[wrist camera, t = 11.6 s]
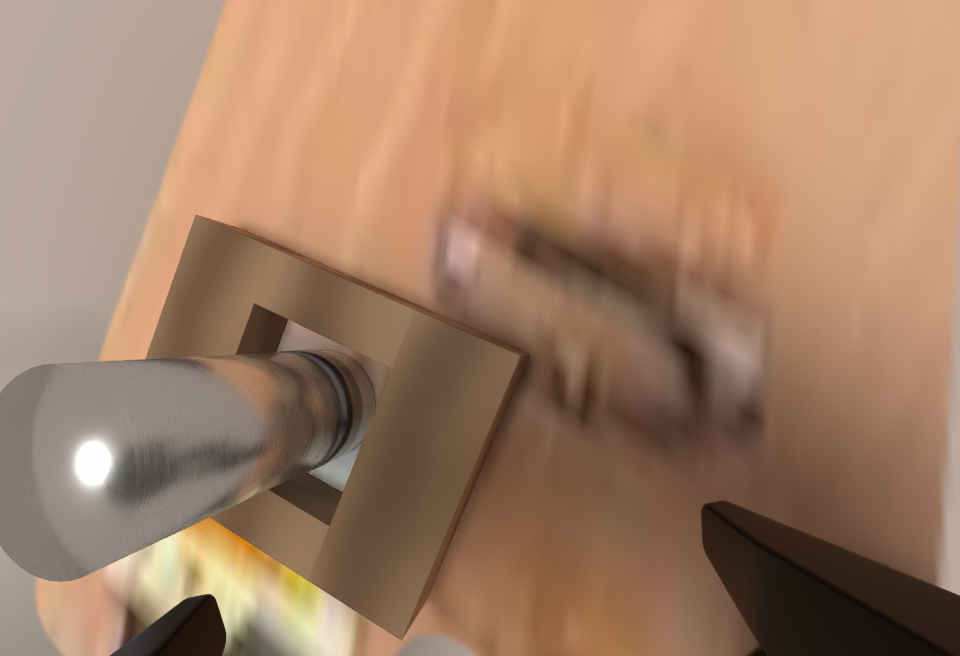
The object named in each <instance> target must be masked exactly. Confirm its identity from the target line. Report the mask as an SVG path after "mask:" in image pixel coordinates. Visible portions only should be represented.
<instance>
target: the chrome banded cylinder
mask: <svg viewBox="0 0 960 656" xmlns="http://www.w3.org/2000/svg"><path fill="white" fill-rule="evenodd" d="M374 412H375V398H374V392H373V388H372V385H371V382H370V380H369V378H368V376H367V375H366V373H365V371H364V370H363V369H362V367H361V366H360V365H359V364H358V363H357V362H356V361H354V360H353V359H352V358H350V357H349V356H347V355H345V354H342V353H340V352H336V351H327V350H326V351H317V350H303V351H284V352H277V353H265V354H245V355H225V356H205V357H184V358H164V359H144V360H124V361H104V362H83V363H63V364H47V365H41V366H37V367H34V368H31V369H29V370H27V371H25V372H23V373H21V374H20V375H19V376H17V377H15V378H14V379H13V380H12V381H11V382H10V383H9V384H8V385H7V386H6V387H5V388H4V389H3V390H2V392H1V393H0V545H1V547H2V548H3V550H4V551H5V552H6V553H7V555H8V556H9V557H10V558H11V559H12V560H13V561H14V562H15V563H16V564H18V565H19V566H20V567H21V568H23V569H24V570H26V571H27V572H29V573H30V574H32V575H34V576H37V577H39V578H42V579H46V580H50V581H60V582H62V581H72V580H75V579H78V578H82V577H84V576H86V575H88V574H90V573H92V572H94V571H97V570H99V569H101V568H103V567H105V566H107V565H109V564H111V563H114V562H116V561H118V560H120V559H122V558H124V557H126V556H128V555H130V554H133V553H135V552H137V551H139V550H141V549H143V548H145V547H147V546H150V545H152V544H154V543H156V542H158V541H160V540H162V539H164V538H167V537H169V536H171V535H173V534H175V533H177V532H179V531H181V530H183V529H186V528H188V527H190V526H192V525H194V524H196V523H198V522H200V521H203V520H205V519H207V518H209V517H211V516H213V515H215V514H217V513H220V512H222V511H224V510H226V509H228V508H230V507H232V506H234V505H236V504H239V503H241V502H243V501H245V500H247V499H249V498H251V497H253V496H256V495H258V494H260V493H262V492H264V491H266V490H268V489H270V488H273V487H275V486H277V485H279V484H281V483H283V482H285V481H287V480H289V479H292V478H294V477H296V476H298V475H300V474H304V473H307V472H309V471H311V470H314V469H316V468H318V467H320V466H322V465H324V464H326V463H328V462H330V461H332V460H334V459H336V458H338V457H339V456H341V455H343V454H345V453H347V452H349V451H351V450H352V449H354V448H355V447H356V446H357V445H358V444H360V443H361V441H362V440H363V439H364V438H365V435H366V433H367V430H368V428H369V425H370V423H371V420H372V417H373V415H374Z"/></svg>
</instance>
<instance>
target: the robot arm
mask: <svg viewBox="0 0 960 656" xmlns="http://www.w3.org/2000/svg"><path fill="white" fill-rule="evenodd" d="M701 518H702V541H703V547H704V550H705V553H706V555H707V557H708V559H709V560H710V562H711V564H712V566H713V567H714V569H715V571H716V572H717V574H718V576H719V577H720V579H721V581H722V583H723V584H724V586H725V588H726V589H727V591H728V593H729V595H730V596H731V598H732V600H733V601H734V603H735V605H736V606H737V608H738V610H739V612H740V613H741V615H742V617H743V618H744V620H745V622H746V624H747V625H748V627H749V628H750V630H751V632H752V633H753V635H754V637H755V638H756V640H757V641H758V643H759V644H760V646H761V647H762V649H761V650H760V651H758V652H757V653H756V654H754V655H753V656H960V596H959V595H957V594H955V593H952V592H950V591H947V590H945V589H942V588H940V587H937V586H935V585H932V584H930V583H927V582H925V581H922V580H920V579H918V578H915V577H913V576H910V575H908V574H905V573H903V572H900V571H898V570H895V569H893V568H890V567H889V566H886V565H883V564H880V563H878V562H876V561H873V560H871V559H868V558H866V557H863V556H861V555H858V554H856V553H853V552H851V551H848V550H846V549H843V548H841V547H838V546H836V545H834V544H831V543H829V542H826V541H824V540H821V539H819V538H816V537H814V536H811V535H809V534H806V533H804V532H801V531H799V530H797V529H794V528H792V527H789V526H787V525H784V524H782V523H779V522H777V521H774V520H772V519H769V518H767V517H764V516H762V515H759V514H757V513H755V512H752V511H750V510H747V509H745V508H742V507H740V506H737V505H735V504H732V503H730V502H727V501H717V502H712V503H706V504H705V505H703V507H702V510H701ZM225 644H226V630H225V627H224V624H223V620H222V617H221V614H220V611H219V608H218V605H217V601H216V599H215V598H214V596H212V595H210V594H206V595H200V596H194V597H190V598H187V599H185V600H183V601H182V602H180V603H179V604H178V605H177V606H175V607H174V608H173V609H171V610H170V611H169V612H167V613H166V614H165V615H163V616H162V617H161V618H159V619H158V620H157V621H155V622H154V623H153V624H151V625H150V626H149V627H147V628H146V629H145V630H143V631H142V632H141V633H139V634H138V635H137V636H135V637H134V638H133V639H132V640H130V641H129V642H128V643H126V644H125V645H124V646H122V647H121V648H120V649H118V650H117V651H116V652H114V653H113V654H112V655H110V656H222V655H223V652H224V648H225Z"/></svg>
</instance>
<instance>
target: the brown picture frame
mask: <svg viewBox="0 0 960 656" xmlns="http://www.w3.org/2000/svg"><path fill="white" fill-rule="evenodd" d="M288 319H289V320H291V321H293V322H295V323H297V324H299V325H301V326H303V327H305V328H307V329H310V330H312V331H314V332H316V333H318V334H320V335H322V336H324V337H326V338H328V339H330V340H333V341H335V342H337V343H339V344H341V345H343V346H345V347H347V348H349V349H351V350H353V351H356V352H358V353H360V354H362V355H364V356H366V357H368V358H370V359H372V360H374V361H376V362H379V363H381V364H383V365H385V366H387V367H389V368H391V372H390V374H389V377H388V379H387V382H386V385H385V387H384V390H383V392H382V395H381V397H380V400H379V402H378V405H377V407H376V410H375V412H374V415H373V417H372V420H371V423H370V425H369V428H368V430H367V433H366V435H365V438H364V440H363V443H362V445H361V448H360V450H359V453H358V455H357V458H356V461H355V463H354V466H353V468H352V471H351V473H350V476H349V478H348V481H347V483H346V486H345V488H344V491H343V494H342V493H341V492H339V491H337V490H335V489H334V488H332V487H330V486H328V485H327V484H325V483H323V482H321V481H320V480H318V479H316V478H314V477H313V476H311V475H309V474H307V473H304V474H300V475H298V476H296V477H294V478H292V479H289V480H287V481H285V482H283V483H281V484H279V485H277V486H275V487H273V488H270V489H268V490H266V491H264V492H262V493H260V494H258V495H256V496H253V497H251V498H249V499H247V500H245V501H243V502H241V503H239V504H236V505H234V506H232V507H230V508H228V509H226V510H224V511H222V512H220V513H217V514H215V515H213V516H211V517H210V518H212V519H213V520H215V521H216V522H218V523H219V524H221V525H222V526H224V527H226V528H227V529H229V530H230V531H232V532H233V533H235V534H236V535H238V536H240V537H241V538H243V539H244V540H246V541H247V542H249V543H250V544H252V545H254V546H255V547H257V548H258V549H260V550H261V551H263V552H264V553H266V554H268V555H269V556H271V557H272V558H274V559H275V560H277V561H278V562H280V563H282V564H283V565H285V566H286V567H288V568H289V569H291V570H292V571H294V572H296V573H297V574H299V575H300V576H302V577H303V578H305V579H306V580H308V581H310V582H311V583H313V584H314V585H316V586H317V587H319V588H320V589H322V590H324V591H325V592H327V593H328V594H330V595H331V596H333V597H334V598H336V599H338V600H339V601H341V602H342V603H344V604H345V605H347V606H348V607H350V608H352V609H353V610H355V611H356V612H358V613H359V614H361V615H362V616H364V617H366V618H367V619H369V620H370V621H372V622H373V623H375V624H376V625H378V626H380V627H381V628H383V629H384V630H386V631H387V632H389V633H390V634H392V635H394V636H395V637H397V638H398V639H400V640H401V641H402V639H403V637H404V636H405V634H406V633H407V631H408V629H409V628H410V626H411V625H412V623H413V621H414V620H415V618H416V616H417V615H418V613H419V612H420V610H421V608H422V607H423V605H424V604H425V602H426V599H427V597H428V594H429V592H430V590H431V587H432V585H433V583H434V580H435V578H436V575H437V573H438V571H439V568H440V566H441V563H442V561H443V559H444V556H445V554H446V552H447V549H448V547H449V544H450V542H451V540H452V537H453V535H454V532H455V530H456V528H457V525H458V523H459V521H460V518H461V516H462V513H463V511H464V509H465V506H466V504H467V501H468V499H469V497H470V494H471V492H472V490H473V487H474V485H475V482H476V480H477V478H478V475H479V473H480V470H481V468H482V466H483V463H484V461H485V459H486V456H487V454H488V451H489V449H490V447H491V444H492V442H493V439H494V437H495V435H496V432H497V430H498V427H499V425H500V423H501V420H502V418H503V416H504V413H505V411H506V408H507V406H508V404H509V401H510V399H511V396H512V394H513V392H514V389H515V387H516V385H517V382H518V380H519V377H520V375H521V373H522V370H523V368H524V365H525V363H526V361H527V358H528V356H529V353H527V352H525V351H522V350H520V349H518V348H515V347H513V346H511V345H508V344H506V343H504V342H501V341H499V340H497V339H495V338H492V337H490V336H488V335H485V334H483V333H481V332H478V331H476V330H474V329H471V328H469V327H467V326H464V325H462V324H460V323H457V322H455V321H453V320H451V319H448V318H446V317H444V316H441V315H439V314H437V313H434V312H432V311H430V310H427V309H425V308H423V307H420V306H418V305H416V304H413V303H411V302H409V301H407V300H404V299H402V298H400V297H397V296H395V295H393V294H390V293H388V292H386V291H383V290H381V289H379V288H376V287H374V286H372V285H369V284H367V283H365V282H363V281H360V280H358V279H356V278H353V277H351V276H349V275H346V274H344V273H342V272H339V271H337V270H335V269H332V268H330V267H328V266H325V265H323V264H321V263H319V262H316V261H314V260H312V259H309V258H307V257H305V256H302V255H300V254H298V253H295V252H293V251H291V250H288V249H286V248H284V247H281V246H279V245H277V244H275V243H272V242H270V241H268V240H265V239H263V238H261V237H258V236H256V235H254V234H251V233H249V232H247V231H244V230H242V229H240V228H237V227H234V226H231V225H227V224H224V223H221V222H218V221H214V220H211V219H208V218H205V217H202V216H198V215H195V218H194V221H193V224H192V227H191V230H190V232H189V235H188V238H187V241H186V244H185V247H184V250H183V253H182V255H181V258H180V261H179V264H178V267H177V270H176V273H175V275H174V278H173V281H172V284H171V287H170V290H169V293H168V296H167V298H166V301H165V304H164V307H163V310H162V313H161V316H160V319H159V321H158V324H157V327H156V330H155V333H154V336H153V339H152V342H151V344H150V347H149V350H148V353H147V356H146V359H164V358H184V357H205V356H225V355H245V354H265V353H275V352H276V349H277V347H278V344H279V341H280V339H281V336H282V333H283V331H284V328H285V325H286V322H287V320H288Z"/></svg>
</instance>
